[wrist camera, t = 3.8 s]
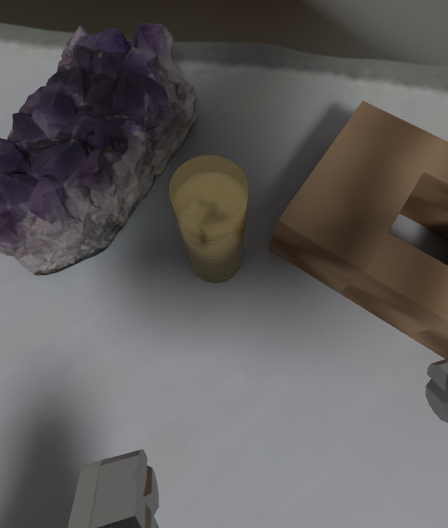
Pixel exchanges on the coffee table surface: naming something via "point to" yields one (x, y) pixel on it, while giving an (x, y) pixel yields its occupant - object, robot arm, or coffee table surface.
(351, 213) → the walnut hole block
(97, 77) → the geode
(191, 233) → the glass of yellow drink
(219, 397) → the coffee table surface
